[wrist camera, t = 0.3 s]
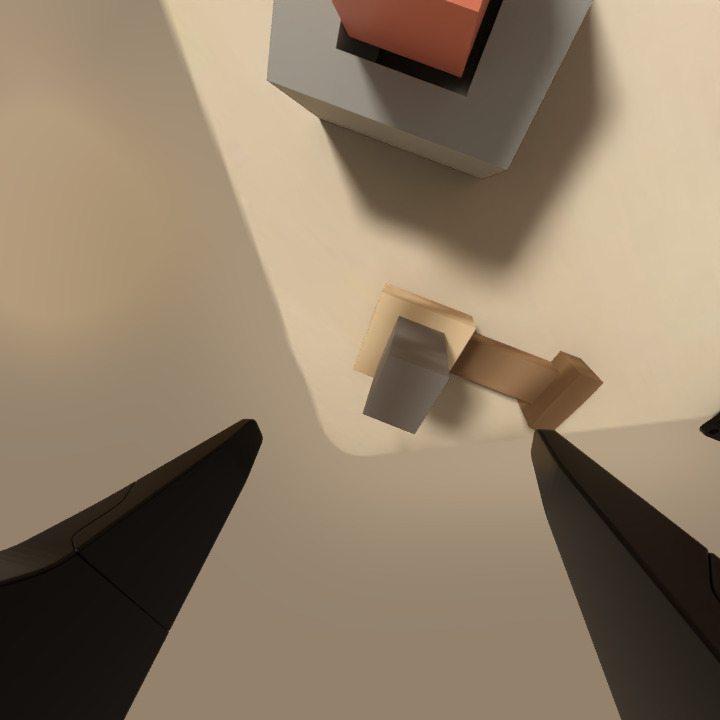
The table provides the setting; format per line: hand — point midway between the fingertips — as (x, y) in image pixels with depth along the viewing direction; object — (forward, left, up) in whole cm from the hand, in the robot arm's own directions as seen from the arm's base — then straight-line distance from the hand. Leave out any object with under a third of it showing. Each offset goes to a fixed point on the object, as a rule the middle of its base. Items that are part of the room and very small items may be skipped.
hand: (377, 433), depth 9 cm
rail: (-6, +2, -13) cm, 15 cm away
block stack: (-1, +2, -12) cm, 12 cm away
